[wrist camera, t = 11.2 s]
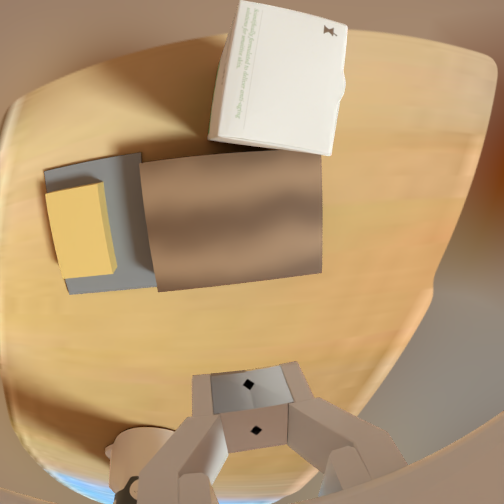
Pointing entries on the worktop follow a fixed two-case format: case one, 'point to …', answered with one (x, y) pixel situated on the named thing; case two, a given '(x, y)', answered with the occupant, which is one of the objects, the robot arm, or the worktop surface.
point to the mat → (114, 220)
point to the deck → (233, 217)
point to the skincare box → (279, 80)
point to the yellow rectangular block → (81, 231)
